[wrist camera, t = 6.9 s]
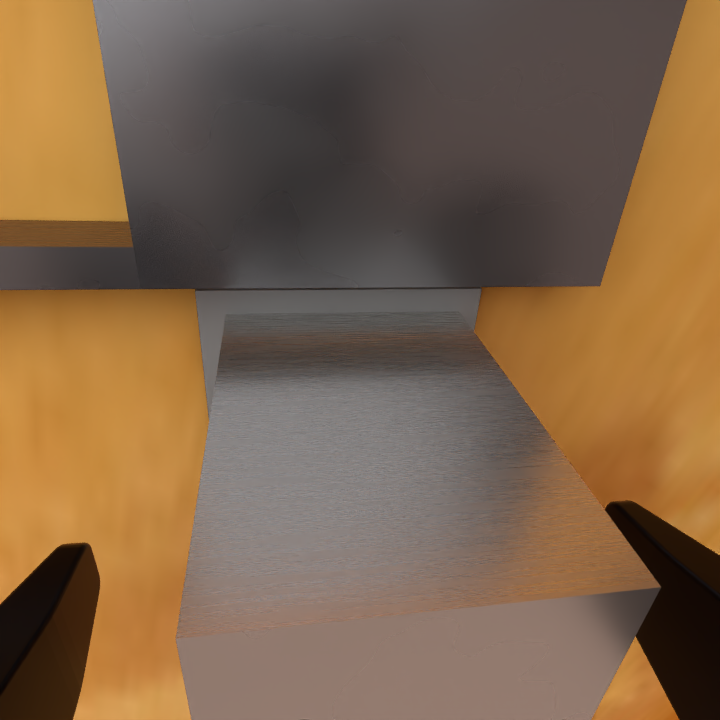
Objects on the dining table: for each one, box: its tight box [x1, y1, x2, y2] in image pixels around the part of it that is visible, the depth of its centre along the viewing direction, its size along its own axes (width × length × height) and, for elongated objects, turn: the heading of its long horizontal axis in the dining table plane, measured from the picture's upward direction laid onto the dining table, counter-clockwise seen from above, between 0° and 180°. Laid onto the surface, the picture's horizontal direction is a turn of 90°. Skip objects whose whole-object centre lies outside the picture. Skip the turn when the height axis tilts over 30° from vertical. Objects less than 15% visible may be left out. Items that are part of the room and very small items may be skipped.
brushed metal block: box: [176, 311, 661, 720], centre depth 9 cm, size 5×5×7 cm
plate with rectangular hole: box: [0, 0, 687, 290], centre depth 8 cm, size 18×8×2 cm, turn 87°
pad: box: [195, 287, 482, 420], centre depth 13 cm, size 6×6×1 cm
